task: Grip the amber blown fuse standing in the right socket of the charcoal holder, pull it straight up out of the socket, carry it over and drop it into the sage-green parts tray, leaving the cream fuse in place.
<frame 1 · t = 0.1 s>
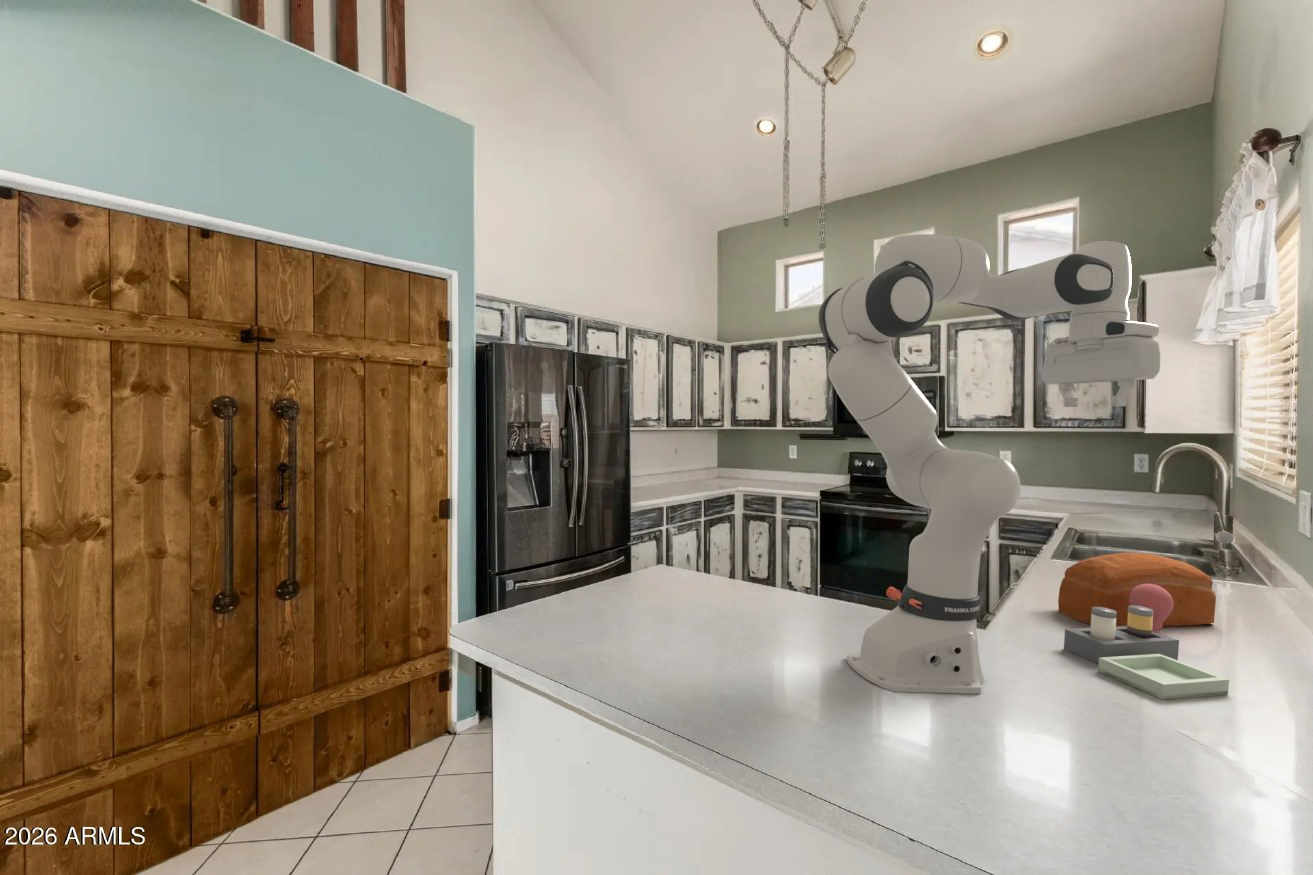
hand: (1093, 406, 109), 48 cm above the countertop, tool pointing down, fingers open, 8 cm apart
bread: (1133, 619, 139), on the countertop
fuse holder: (1119, 654, 114), on the countertop
blown fuse: (1137, 653, 115), resting in fuse holder
tray: (1160, 682, 102), on the countertop
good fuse: (1101, 655, 113), resting in fuse holder
light bulb: (1148, 641, 123), on the countertop
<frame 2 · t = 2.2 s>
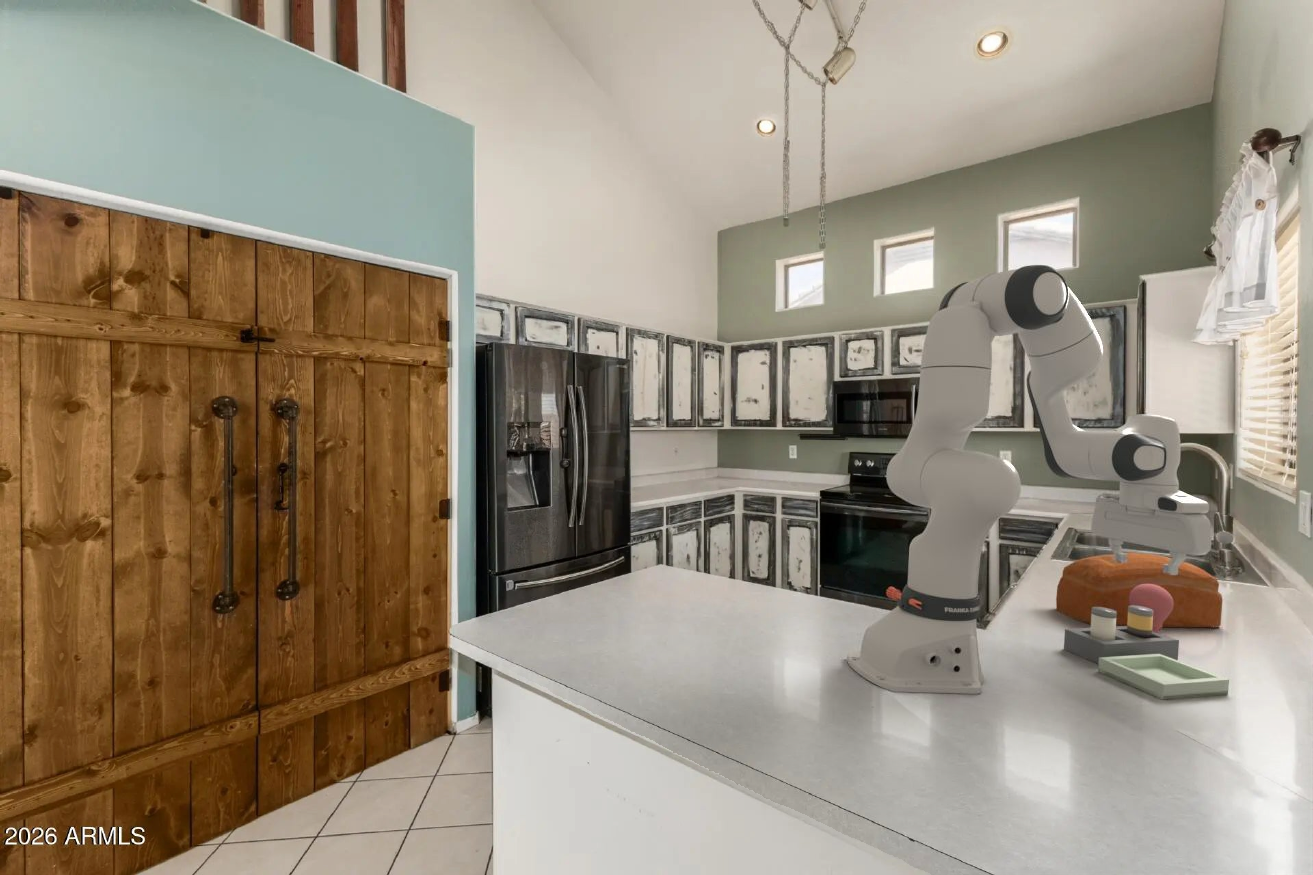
hand: (1144, 567, 115), 17 cm above the countertop, tool pointing down, fingers open, 8 cm apart
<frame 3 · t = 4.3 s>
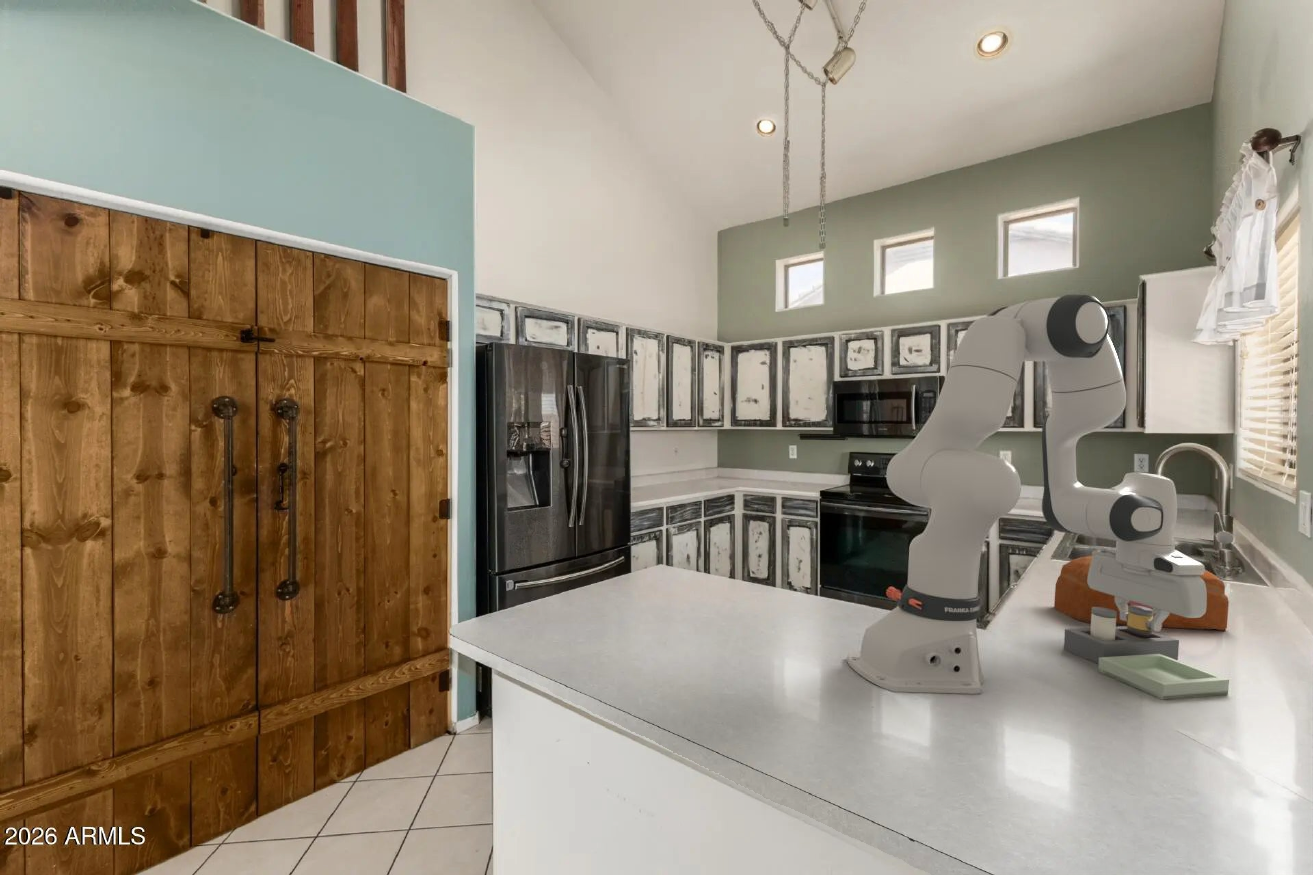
hand: (1139, 625, 115), 6 cm above the countertop, tool pointing down, fingers closed on blown fuse, 4 cm apart
blown fuse: (1137, 653, 115), resting in fuse holder, touching gripper
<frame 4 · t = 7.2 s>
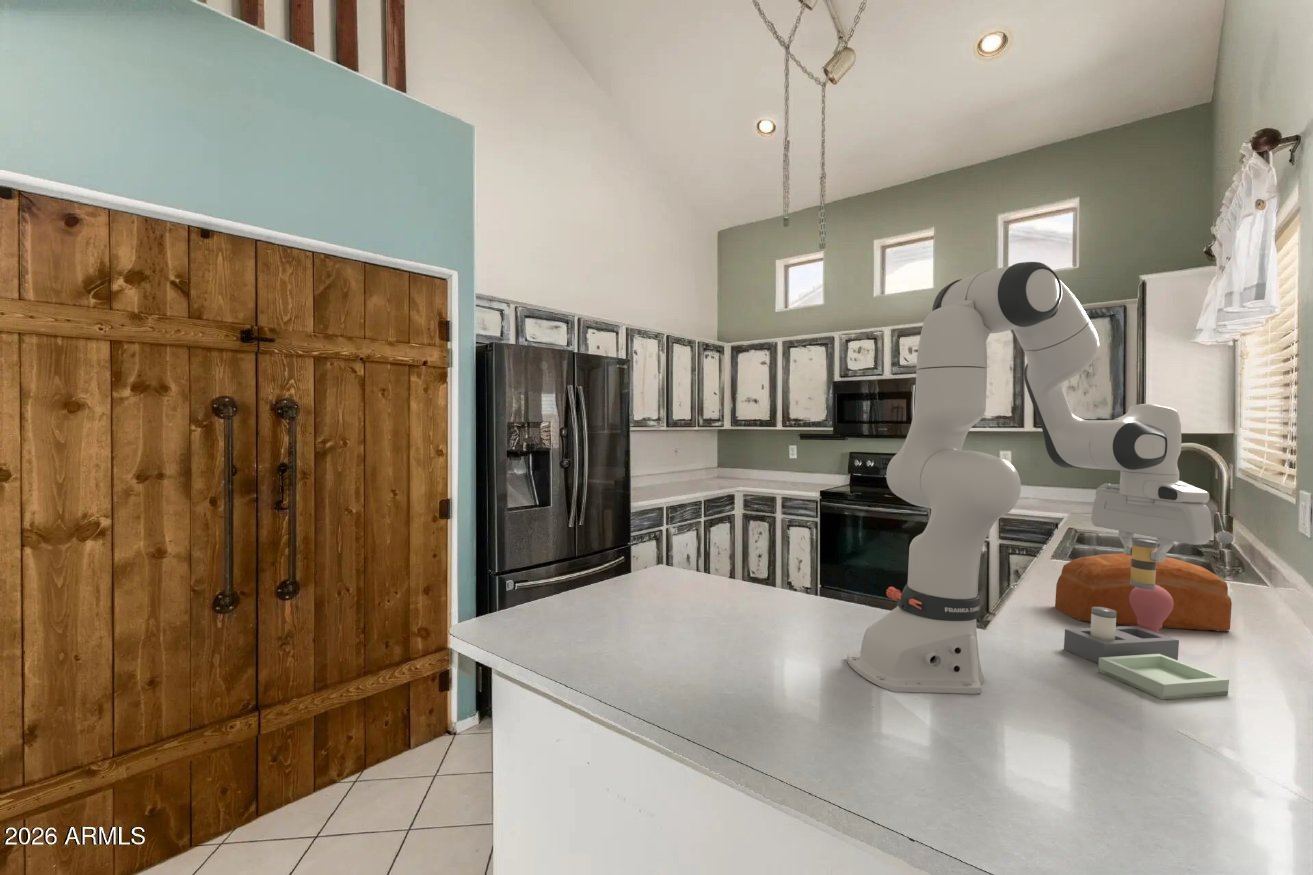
hand: (1143, 558, 115), 19 cm above the countertop, tool pointing down, fingers closed on blown fuse, 4 cm apart
blown fuse: (1142, 586, 115), point 13 cm above the countertop, touching gripper
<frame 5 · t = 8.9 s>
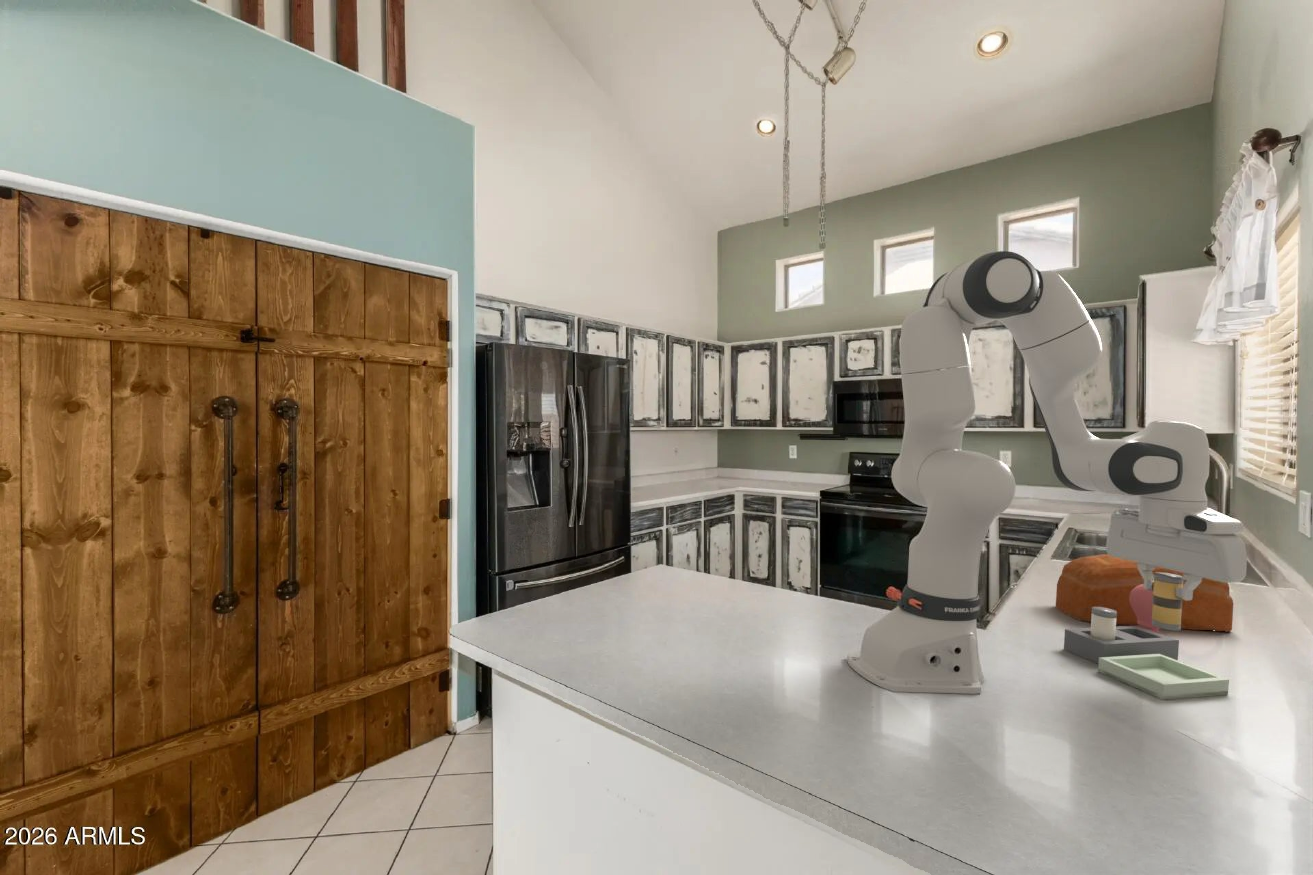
hand: (1167, 594, 101), 15 cm above the countertop, tool pointing down, fingers closed on blown fuse, 4 cm apart
blown fuse: (1165, 626, 102), point 10 cm above the countertop, touching gripper
when the fingers open (7 cm above the countertop, at t = 10.3 s): blown fuse drops 1 cm, resting on tray.
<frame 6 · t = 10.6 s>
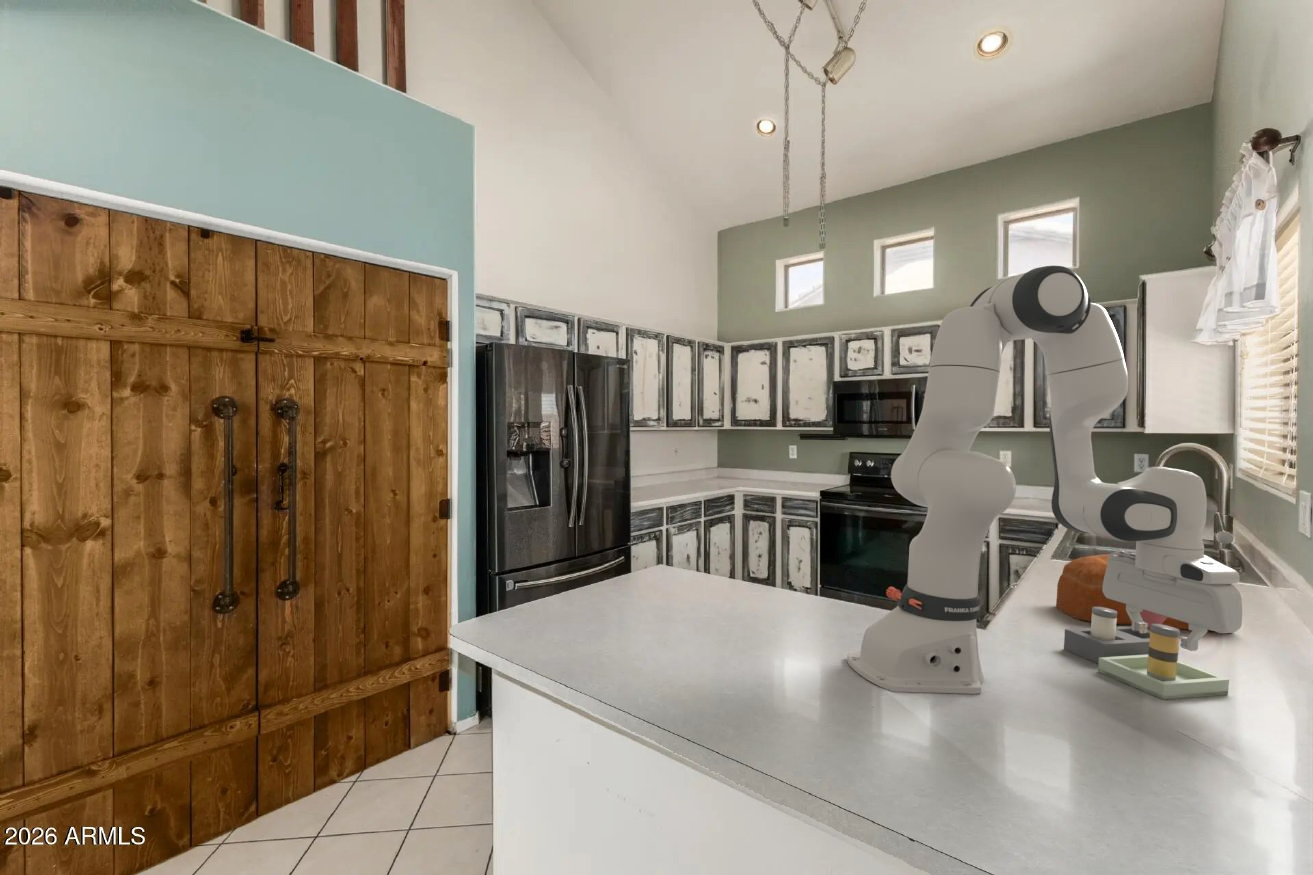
hand: (1163, 640, 102), 7 cm above the countertop, tool pointing down, fingers open, 7 cm apart
blown fuse: (1160, 678, 102), point 1 cm above the countertop, touching tray
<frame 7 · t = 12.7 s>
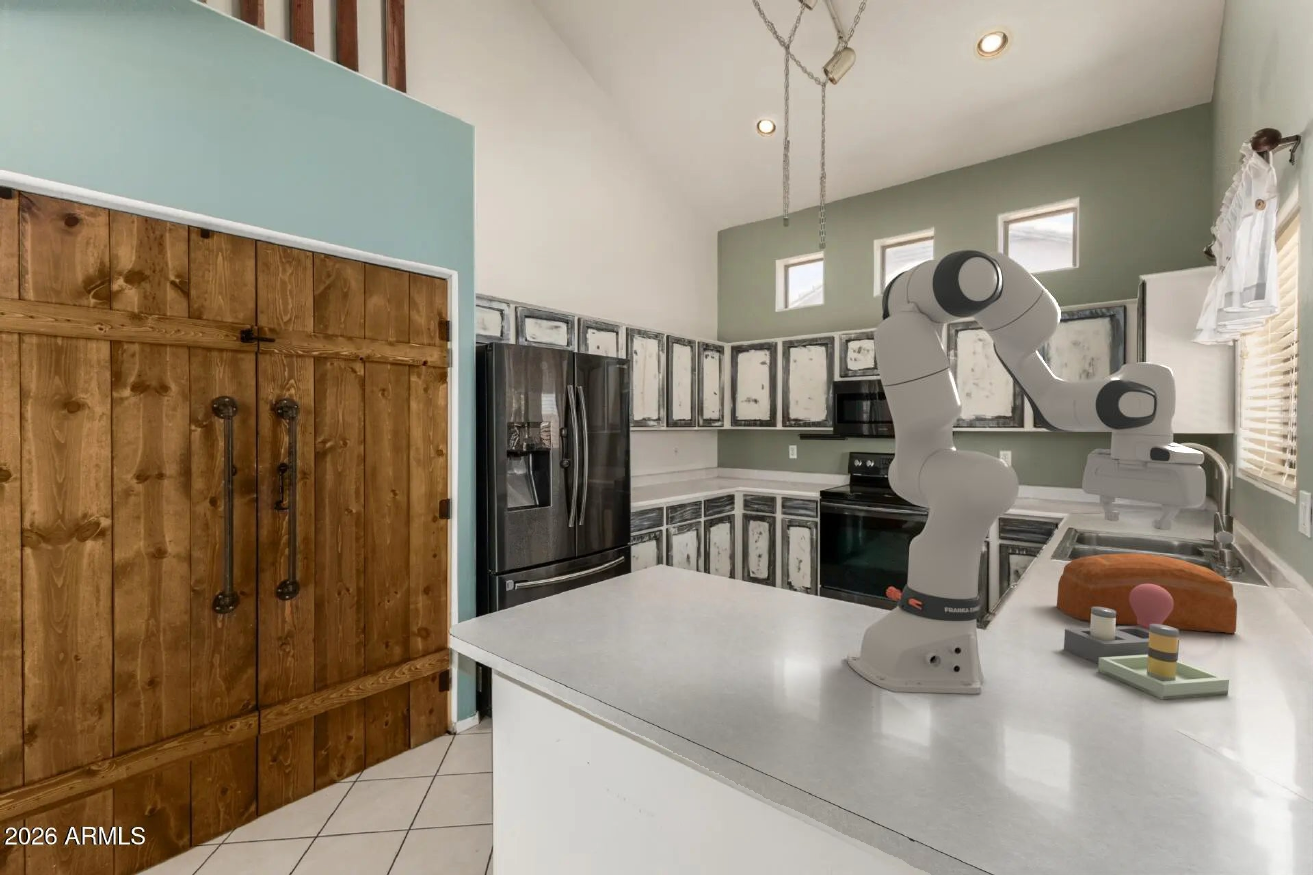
hand: (1135, 524, 109), 26 cm above the countertop, tool pointing down, fingers open, 8 cm apart
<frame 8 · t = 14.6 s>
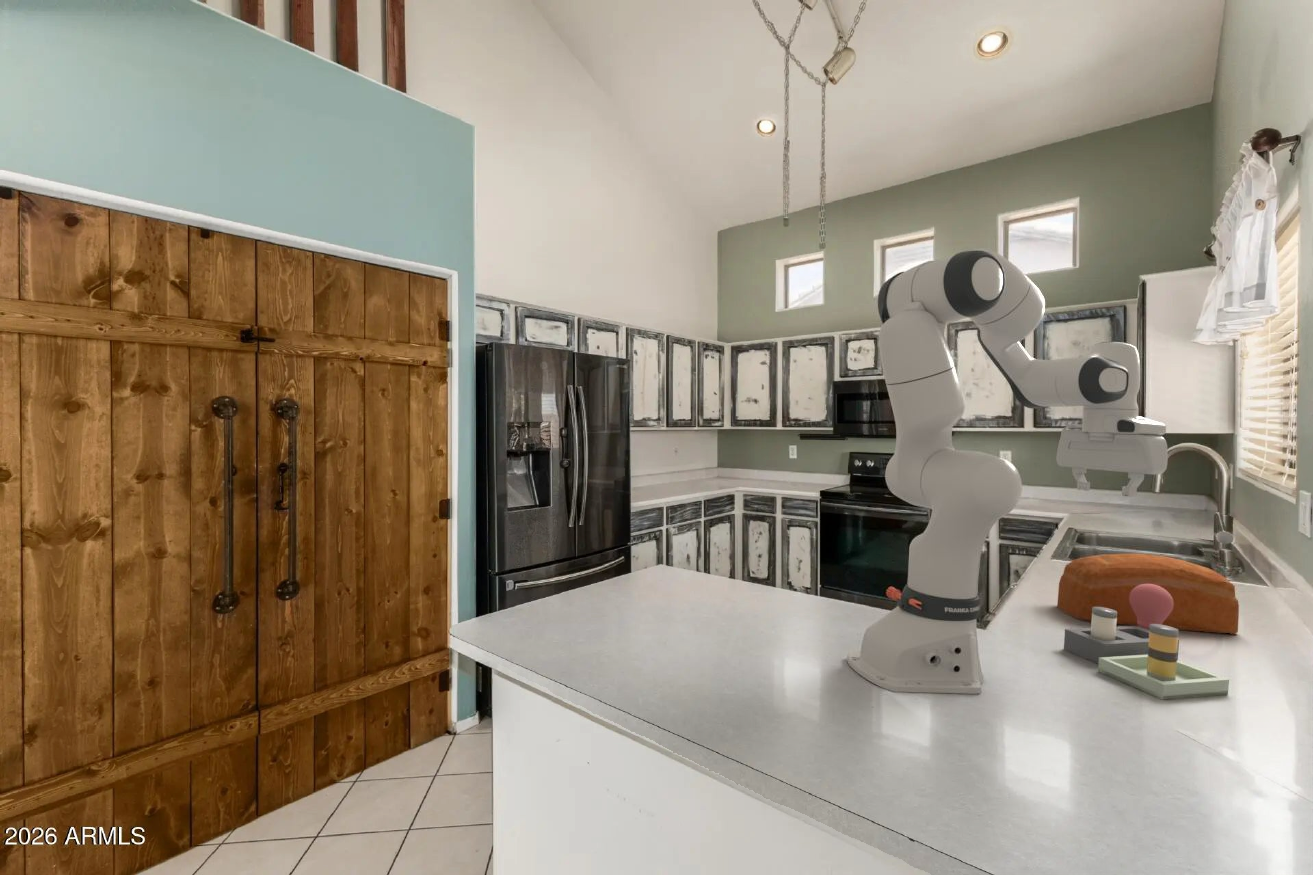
hand: (1105, 493, 118), 31 cm above the countertop, tool pointing down, fingers open, 8 cm apart
at the end: blown fuse inside the target area on the tray (0.0 cm from its centre), point 0.6 cm above the tray's base; the gripper is holding nothing; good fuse moved 0.0 cm from its start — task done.
